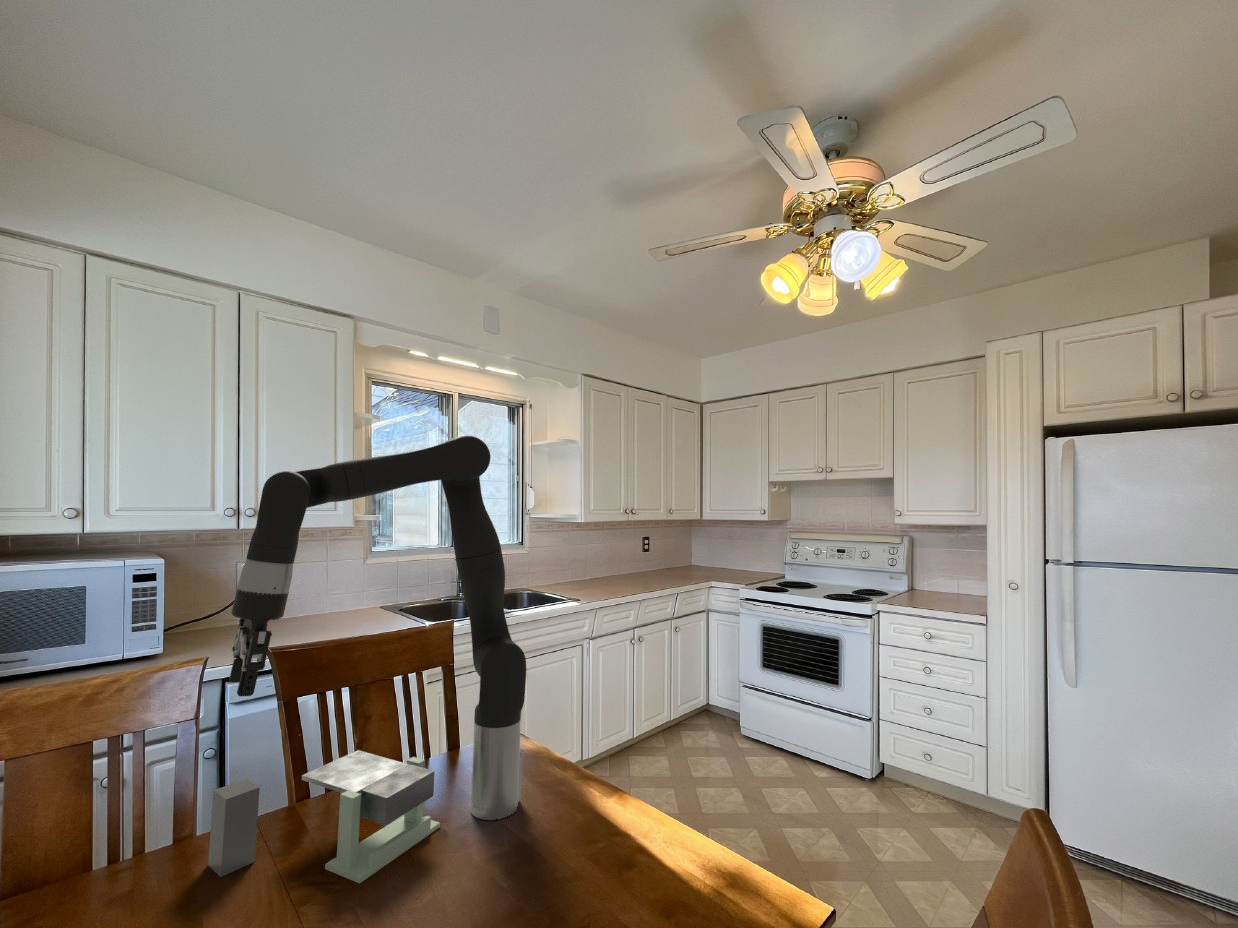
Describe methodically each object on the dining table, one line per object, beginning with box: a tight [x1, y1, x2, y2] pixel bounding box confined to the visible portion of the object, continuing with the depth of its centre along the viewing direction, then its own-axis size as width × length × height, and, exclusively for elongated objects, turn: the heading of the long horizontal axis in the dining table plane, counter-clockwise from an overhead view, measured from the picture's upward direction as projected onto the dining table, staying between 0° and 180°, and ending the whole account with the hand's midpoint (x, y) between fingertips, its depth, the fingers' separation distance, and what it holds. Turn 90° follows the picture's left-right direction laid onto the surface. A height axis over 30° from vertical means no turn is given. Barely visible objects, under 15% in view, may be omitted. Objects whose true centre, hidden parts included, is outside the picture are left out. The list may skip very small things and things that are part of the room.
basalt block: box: [207, 778, 261, 878], centre depth 95 cm, size 5×5×12 cm
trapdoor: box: [301, 749, 435, 827], centre depth 103 cm, size 12×20×4 cm, turn 65°
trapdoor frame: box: [324, 756, 441, 884], centre depth 100 cm, size 18×8×12 cm, turn 155°
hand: (240, 688), depth 93 cm, fingers open, 8 cm apart
